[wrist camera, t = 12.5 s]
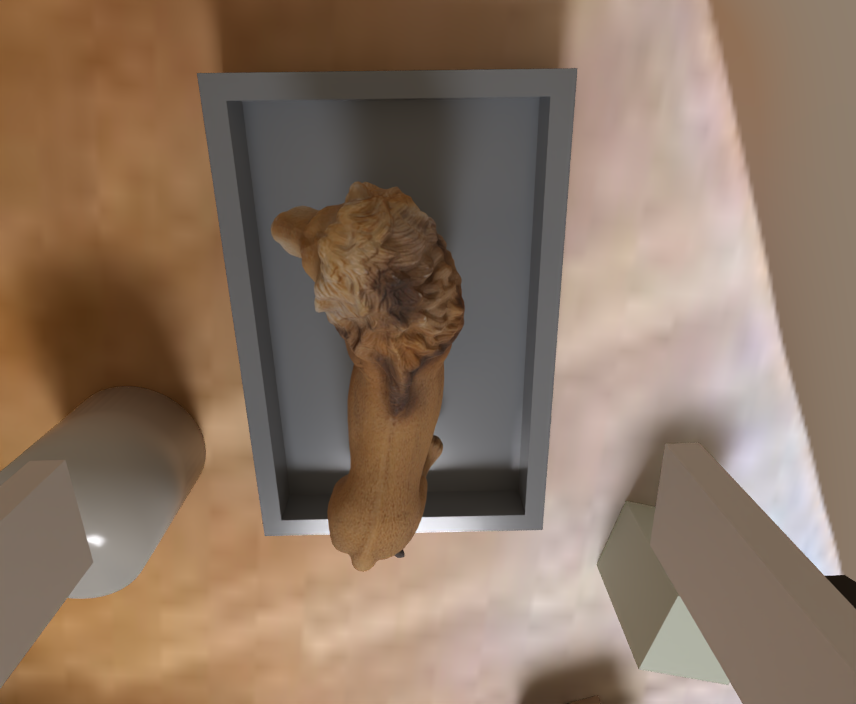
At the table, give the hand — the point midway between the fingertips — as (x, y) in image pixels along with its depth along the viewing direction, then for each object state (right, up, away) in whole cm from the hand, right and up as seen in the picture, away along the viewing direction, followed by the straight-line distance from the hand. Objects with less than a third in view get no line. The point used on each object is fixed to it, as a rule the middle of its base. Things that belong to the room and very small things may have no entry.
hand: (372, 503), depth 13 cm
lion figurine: (0, +3, +11) cm, 11 cm away
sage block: (+12, -6, +16) cm, 21 cm away
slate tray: (0, +5, +11) cm, 12 cm away
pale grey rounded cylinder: (-12, -1, +13) cm, 18 cm away
